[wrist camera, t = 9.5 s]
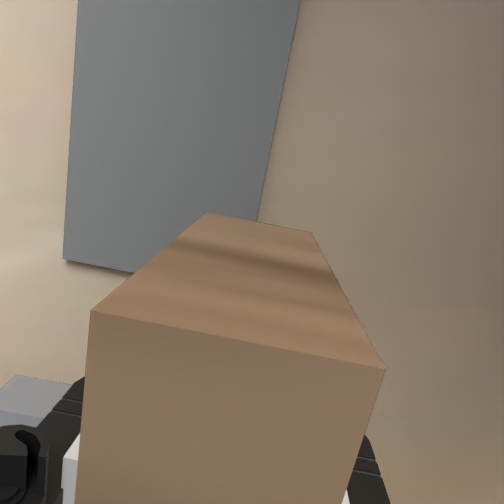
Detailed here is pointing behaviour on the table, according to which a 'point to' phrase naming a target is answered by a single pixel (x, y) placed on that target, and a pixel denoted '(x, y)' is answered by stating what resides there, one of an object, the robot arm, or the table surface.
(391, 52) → the table surface
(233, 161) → the pad
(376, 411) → the table surface
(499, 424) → the table surface
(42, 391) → the tile
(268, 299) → the stepped wooden block
